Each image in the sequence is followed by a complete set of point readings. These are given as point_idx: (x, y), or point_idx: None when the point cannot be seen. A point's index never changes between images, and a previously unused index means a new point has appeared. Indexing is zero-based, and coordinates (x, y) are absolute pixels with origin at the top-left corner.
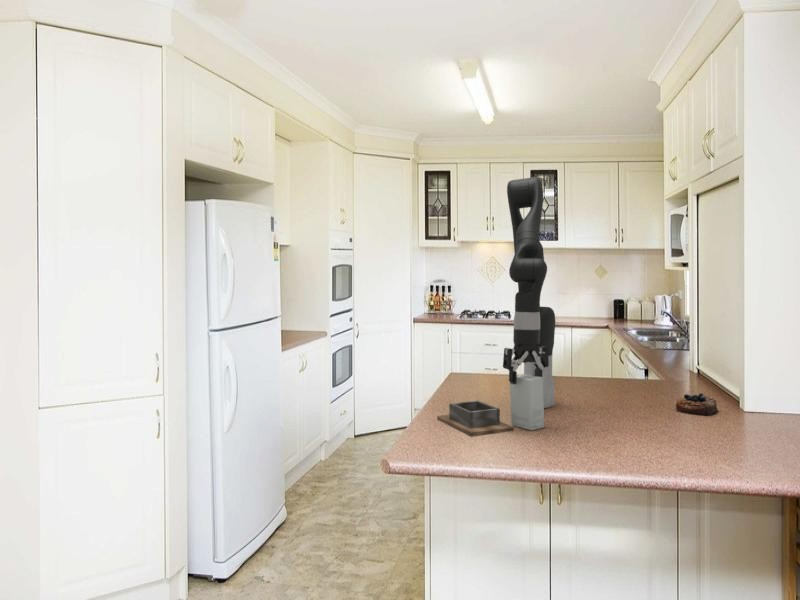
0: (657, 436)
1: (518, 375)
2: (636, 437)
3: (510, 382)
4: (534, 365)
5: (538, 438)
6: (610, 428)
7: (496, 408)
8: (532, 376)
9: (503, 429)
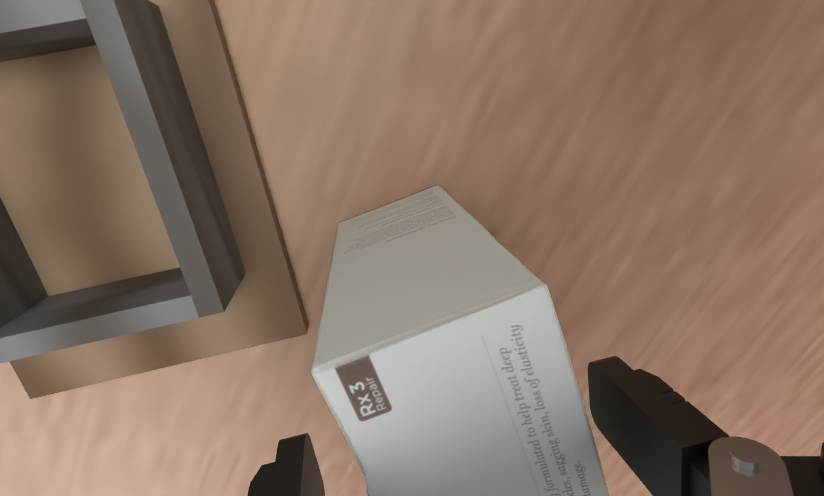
0: None
1: (436, 366)
2: None
3: (280, 444)
4: (711, 494)
5: None
6: (747, 358)
7: (203, 293)
8: (545, 487)
9: (243, 346)
